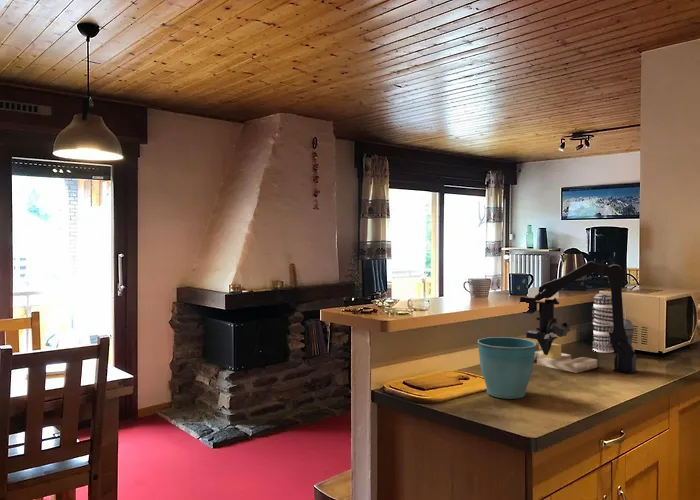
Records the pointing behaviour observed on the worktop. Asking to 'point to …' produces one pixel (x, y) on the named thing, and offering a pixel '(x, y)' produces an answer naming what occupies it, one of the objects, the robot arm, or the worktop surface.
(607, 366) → the worktop surface
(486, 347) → the flower pot
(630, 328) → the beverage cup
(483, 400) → the worktop surface
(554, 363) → the board
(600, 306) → the decorative candle
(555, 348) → the ochre block
